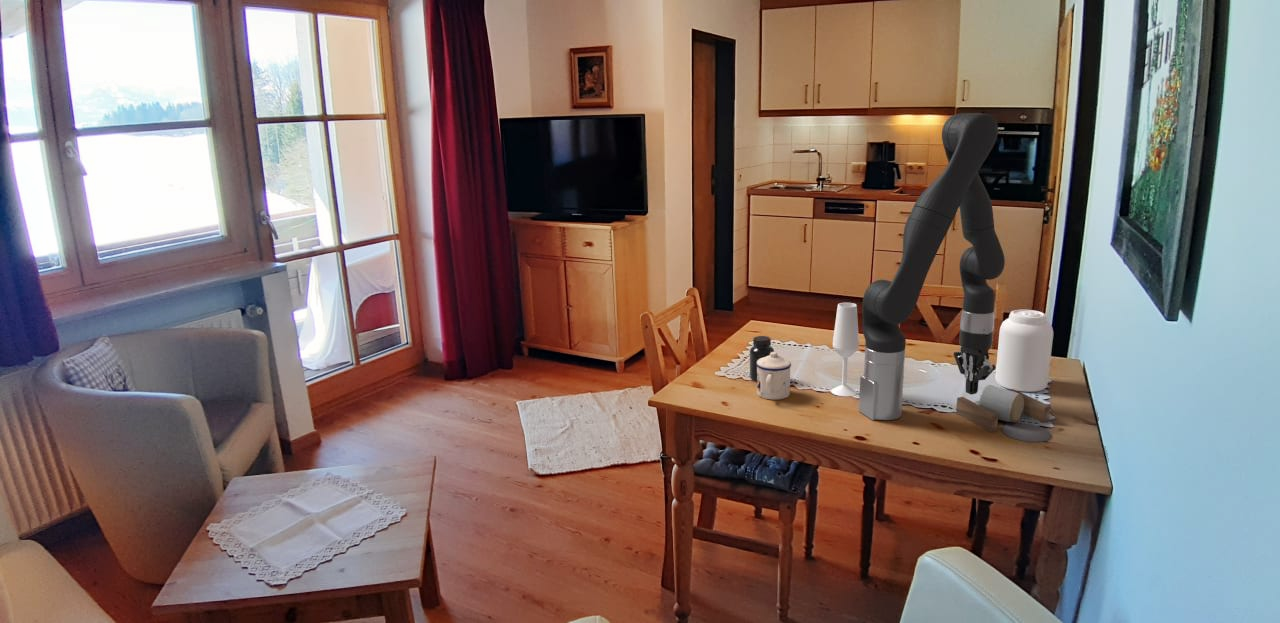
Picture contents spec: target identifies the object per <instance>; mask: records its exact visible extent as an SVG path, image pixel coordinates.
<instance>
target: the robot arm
mask: <svg viewBox="0 0 1280 623" xmlns="http://www.w3.org/2000/svg"><path fill="white" fill-rule="evenodd" d="M998 131H999V126H998V122H997V120H996V119H995V117H994V116H992V115H991V114H990V113H989V114H988V113H983V112H982V113H980V112H972V113H971V112H966V113H965V112H962V113H956V114H952V115H951V116H950V117H948V118H947V119H946V121H945V122H944V124H943V126H942V130H941V141H942V145H943V149H944V152H945V155H946V158H947V161H948V163H947V165H946V167H945V169H943V171H942V173H941V174H940V175H939V176H938V177H937V178H936V179H935V180H934V181H933V182H931V183H930V184H929V185H928V186H927V188H926V189H925V190H924V191H923V192H922V193H921V194H920V195H919V197H917V199H916V201H915V203H914V205H913V208H912V209H911V212H910V214H909V215H908V217H907V219H906V222H905V224H904V229H903V238H902V257H901V260H900V264H899V267H898V269H897V271H896V273H895V275H894V276H893V277H894V278H893V279H892V281H891V280H888V279H878V280H874V281H873V282H871V283H870V284H869V285H868V287H866V290H865V291H864V293H863V297H862V310H861V311H862V334H863V337H864V339H865V341H864V342H865V343H864V344H865V346H864V365H863V366H864V367H863V374H862V375H860V378H859V397H858V398H859V401H858V402H859V403H858V412H860V413H861V414H863V415H864V416H865V417H867V418H869V419H870V420H872V421H874V420H875V421H876V420H880V421H893V420H897V419H899V418H900V417H902V411H903V410H902V409H903V408H902V407H903V394H904V393H903V392H904V376H905V375H904V374H905V358H906V344H907V339H906V337H905V335H904V333H903V332H902V330H901V328H900V326H899V325H900V324H903V322H905V321H906V320H908V319H909V318H910V317H911V315H912V313H913V312H914V310H915V309H916V306H917V303H918V300H919V298H920V294H921V292H922V289H923V287H924V284H925V281H926V278H927V276H928V274H929V270H930V268H931V266H932V264H933V262H934V261H935V258H936V256H937V254H938V251H939V250H940V247H941V245H942V243H943V241H944V239H945V237H946V235H947V233H948V231H949V229H950V227H951V226H952V223H953V221H954V219H955V217H956V214H957V211H958V210H959V215H960V221H961V222H960V223H961V230H962V235H963V238H964V239H965V241H966V242H969V243H970V244H971V245H972V246H970V247H968V248H967V249H965V250H964V251H963V253H962V254H961V257H960V260H959V273H960V279H961V280H960V281H961V286H962V290H963V297H962V298H963V301H962V311H961V316H960V326H959V339H958V344H959V346H960V350H959V351H955V352H953V357H954V359H955V362H956V364H957V368H958V369H959V370H958V371H959V373H960V374H961V375H963V376H964V378H965V393H967V394H969V395H976V394H977V393H978V391H979V390H978V389H979V383H980V381H986V380H987V378H988V377H989V376H990V375H991V374H992V373H993V372H994V371H996V365H995V364H994V363H993V364H992V363H991V362H990V360H989V359H990V355H989V350H990V349H991V348H992V347H993V337H994V335H993V334H994V326H995V315H994V314H995V312H994V311H995V303H996V302H995V300H996V293H995V290H994V289H993V288H992V287H991V286H990V285H989V284H988V282H987V280H989V281H992V280H995V279H997V278H998V277H1000V276H1001V275H1002V273H1003V271H1004V269H1005V263H1006V262H1005V261H1006V259H1005V258H1006V257H1005V254H1004V250H1003V248H1002V245H1001V243H1000V242H1001V241H1000V240H999V238H998V235H997V233H996V230H995V220H994V211H993V204H992V201H991V197H990V195H989V193H988V190H987V189H986V187H985V185H984V183H983V182H982V179H981V177H980V175H979V170H980V169H981V167H982V165H983V164H984V162H985V161H986V159H987V158H988V156H989V154H990V152H991V151H992V150H993V147H994V145H995V143H996V141H997V138H998V133H999V132H998Z"/></svg>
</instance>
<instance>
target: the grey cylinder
mask: <svg viewBox="0 0 1280 623" xmlns="http://www.w3.org/2000/svg"><path fill="white" fill-rule="evenodd" d="M978 405H980V406H982V407H984V408H986V409H988V410H989V411H991V412H993V413H995V414H997V415H998V420H1000V421H1003V422H1007V423H1017V422H1018V421H1019V420H1020V418H1021V416H1022V414H1023V413H1022V412H1023V408H1024V398H1023V396H1022V395H1020V394H1018V393H1016V392H1013V391H1010V390H1009V389H1007V388H1004V387H999V386H995V385H992V384H987V385H986V386H985V387H984V388H983V390H982V391H981V394H980V397H979V403H978Z"/></svg>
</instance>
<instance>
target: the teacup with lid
mask: <svg viewBox="0 0 1280 623" xmlns="http://www.w3.org/2000/svg"><path fill="white" fill-rule="evenodd" d="M756 365H757V382H756V393H757V396H759V397H760V398H763V399H766V400H771V401H772V400H773V401H774V400H775V401H776V400H783V399H786V398H788V397H789V396H790V394H791V393H790V392H791V389H790V388H791V367H792V363H791V361H790V360H789V359H787V358H785V357H782V356H781V355H779V354H778V352H776V351H774V352H771V353H770V355H769V356H766V357H763V358H760V359H759V360H758V361H757V363H756Z"/></svg>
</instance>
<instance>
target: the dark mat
mask: <svg viewBox="0 0 1280 623" xmlns="http://www.w3.org/2000/svg"><path fill="white" fill-rule="evenodd" d="M1001 432H1003V434H1004V435H1006V436H1007V437H1009V438H1012V439H1014V440H1018V441H1022V442H1027V443H1029V442H1030V443H1042V442H1047V441H1049V440H1050V439H1051V438H1052V434H1051V432H1050V431H1049V430H1047V429H1046V428H1043V427H1041V426H1038V425H1035V424H1030V423H1025V422H1010V423H1007V424H1004V425H1003V426H1002V429H1001Z"/></svg>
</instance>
